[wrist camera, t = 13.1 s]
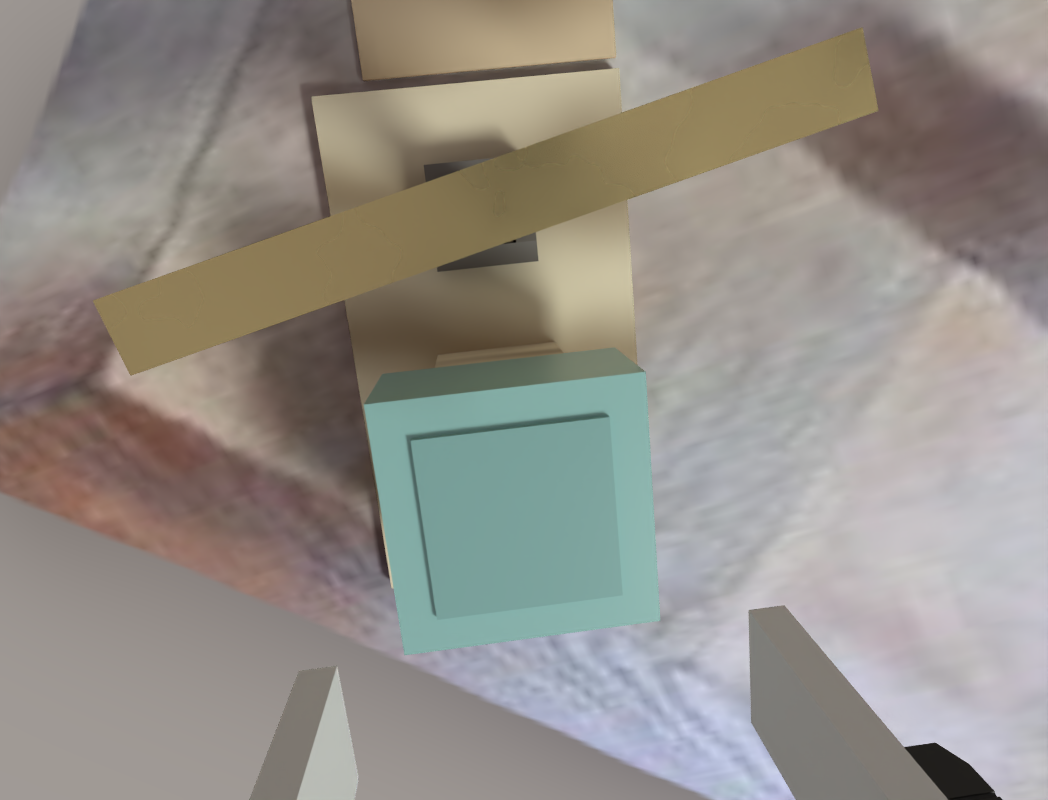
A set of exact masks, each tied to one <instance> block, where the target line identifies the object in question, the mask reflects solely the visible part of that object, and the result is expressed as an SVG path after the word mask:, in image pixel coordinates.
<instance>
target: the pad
mask: <svg viewBox="0 0 1048 800" xmlns="http://www.w3.org/2000/svg"><path fill="white" fill-rule="evenodd" d="M351 2H352V9H353V16H354V23H355V30H356V37H357V44H358V50H359V57H360V64H361V71H362V78H363V81H370V80H381V79H392V78H403V77H414V76H425V75H435V74H446V73H457V72H468V71H479V70H490V69H500V68H511V67H522V66H533V65H544V64H555V63H566V62H576V61H587V60H598V59H609V58H615V57H616V47H615V31H614V15H613V0H351Z"/></svg>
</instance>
